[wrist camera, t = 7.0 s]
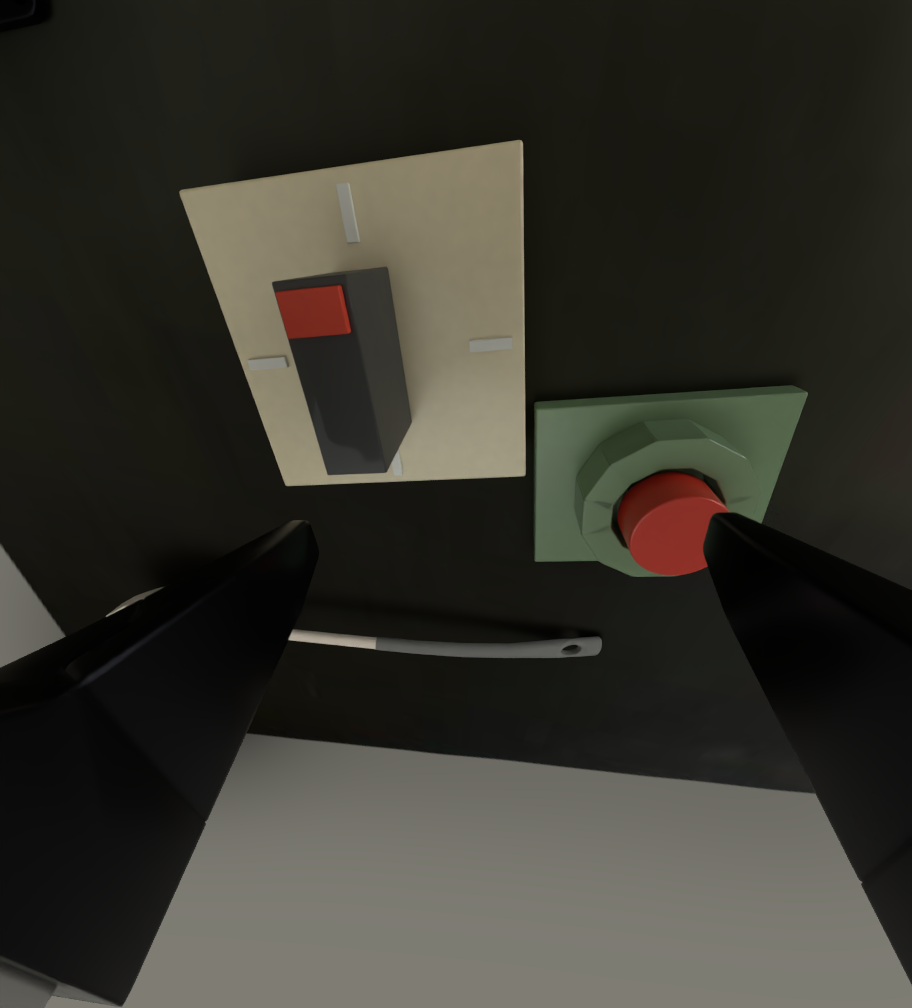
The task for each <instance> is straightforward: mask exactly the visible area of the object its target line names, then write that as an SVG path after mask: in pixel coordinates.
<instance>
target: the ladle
mask: <svg viewBox="0 0 912 1008" xmlns="http://www.w3.org/2000/svg"><path fill="white" fill-rule="evenodd" d="M161 588H163V587H161ZM161 588H157V589H154V590H151V591H148V592H145V593H142V594H139V595H137V596H135V597H133V598H131V599H130V600H128V601H126V602H124V603H122V604H121V605H120V606H118V607H117V608H116V609H115V610H113V611H112V612H111V613H110V614H108V615H107V616H109V615H111V614H113V613H115V612H117V611H119V610H121V609H123V608H125V607H127V606H129V605H131V604H132V603H134V602H136V601H138V600H140V599H144V598H145V597H146V596H148V595H150V594H152V593H154V592H156V591H157V590H159V589H161ZM107 616H106V617H107ZM288 640H294V641H303V642H313V643H323V644H332V645H342V646H352V647H361V648H371V649H376V650H383V651H394V652H404V653H415V654H427V655H442V656H456V657H491V658H562V657H570V656H573V657H578V656H592V655H597V654H598V653H599V652H600V650H601V646H602V640H601V638H600V637H598V636H597V637H581V638H574V639H554V640H544V641H533V642H521V643H510V644H504V643H453V642H434V641H417V640H406V639H395V638H384V637H377V638H375V637H365V636H355V635H345V634H335V633H325V632H315V631H305V630H295V629H293V630H292V633H291V635H290V637H289V639H288ZM569 645H578V647H577V648H575V649H572V650H568V651H564V650H562V649H563V648H564V647H566V646H569Z"/></svg>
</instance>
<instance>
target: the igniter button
mask: <svg viewBox="0 0 912 1008" xmlns="http://www.w3.org/2000/svg"><path fill="white" fill-rule="evenodd" d="M718 512H730V511H729V510H728V509H727V508H726V506H725V505H724V504H723V503H722V502H721V501H720V499H719V498H718V497H717V496H716V495H715V494H714V493H713V491H712V490H711V489H710V488H709V487H708V486H707V484H706V483H705V482H704V481H702V480H701V479H700V478H698V477H696V476H694V475H691V474H688V473H683V472H664V473H659V474H656V475H652V476H650V477H648V478H645V479H644V480H642V481H640V482H639V483H637V484H636V485H634V486H633V487H632V488H631V489H630V490H629V491H628V492H627V493H626V495H625V496H624V497H623V499H622V501H621V503H620V506H619V508H618V514H617V519H618V524H619V527H620V530H621V532H622V534H623V537H624V539H625V542H626V544H627V546H628V549H629V551H630V553H631V555H632V557H633V559H634V560H635V561H636V562H637V563H638V564H639V565H640V566H641V567H643V568H644V569H646V570H648V571H650V572H653V573H656V574H661V575H683V574H688V573H692V572H695V571H698V570H700V569H703V568H705V567H707V563H706V560H705V557H704V554H703V543H704V539H705V536H706V532H707V528H708V525H709V521H710V518H711V516H712V515H713V514H715V513H718Z"/></svg>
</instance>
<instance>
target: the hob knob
mask: <svg viewBox="0 0 912 1008" xmlns="http://www.w3.org/2000/svg"><path fill="white" fill-rule="evenodd" d="M272 286H273V290H274V293H275V297H276V300H277V304H278V307H279V310H280V314H281V317H282V321H283V324H284V328H285V331H286V334H287V338H288V341H289V345H290V348H291V351H292V355H293V358H294V362H295V365H296V369H297V372H298V375H299V379H300V382H301V386H302V389H303V393H304V396H305V399H306V403H307V406H308V410H309V413H310V417H311V420H312V423H313V427H314V430H315V434H316V437H317V441H318V444H319V447H320V451H321V454H322V458H323V461H324V465H325V468H326V471H327V474H328V475H347V474H372V473H386V472H387V471H388V469H389V467H390V465H391V463H392V461H393V459H394V457H395V455H396V453H397V451H398V449H399V447H400V445H401V443H402V441H403V439H404V437H405V435H406V433H407V431H408V429H409V427H410V425H411V423H412V419H411V412H410V406H409V399H408V393H407V387H406V380H405V374H404V368H403V361H402V355H401V348H400V342H399V336H398V329H397V323H396V316H395V310H394V304H393V297H392V291H391V285H390V278H389V272H388V268H387V267H379V268H370V269H361V270H351V271H342V272H333V273H326V274H320V275H313V276H306V277H300V278H293V279H287V280H280V281H274V282H272Z"/></svg>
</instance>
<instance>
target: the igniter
mask: <svg viewBox="0 0 912 1008" xmlns="http://www.w3.org/2000/svg"><path fill="white" fill-rule="evenodd" d="M807 395H808V393H807V392H806V391H804V390H802V389H799V388H797V387H795V386H793V385H789V386H774V387H758V388H743V389H727V390H712V391H696V392H681V393H666V394H650V395H635V396H619V397H604V398H588V399H573V400H557V401H542V402H535V403H534V558H535V561H536V562H544V561H599V562H601V563H603V564H605V565H607V566H609V567H612V568H614V569H616V570H619V571H621V572H623V573H625V574H628V575H630V576H635V577H651V576H678V575H661V574H656V573H653V572H650V571H648V570H646V569H644V568H643V567H641V566H640V565H639V564H638V563H637V562H636V561H635V560H634V559H633V557H632V555H631V553H630V551H629V549H628V546H627V544H626V542H625V539H624V537H623V534H622V532H621V530H620V527H619V524H618V519H617V514H618V508H619V506H620V503H621V501H622V499H623V497H624V496H625V495H626V493H627V492H628V491H629V490H630V489H631V488H632V487H633V486H634V485H636V484H637V483H639V482H640V481H642V480H644V479H645V478H648V477H650V476H652V475H656V474H659V473H664V472H683V473H688V474H691V475H694V476H696V477H698V478H700V479H701V480H702V481H704V482H705V483H706V484H707V486H708V487H709V488H710V489H711V490H712V491H713V493H714V494H715V495H716V496H717V497H718V498H719V499H720V501H721V502H722V503H723V504H724V505H725V506H726V508H727V509H728V510H729V511H730V512H736V513H739V514H741V515H744V516H746V517H748V518H750V519H753V520H755V521H757V522H759V523H762V520H763V517H764V514H765V511H766V509H767V506H768V503H769V500H770V498H771V495H772V492H773V489H774V486H775V484H776V481H777V478H778V475H779V473H780V470H781V467H782V464H783V461H784V459H785V456H786V453H787V450H788V448H789V445H790V442H791V439H792V436H793V434H794V431H795V428H796V425H797V422H798V420H799V417H800V414H801V411H802V409H803V406H804V403H805V400H806V397H807Z"/></svg>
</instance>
